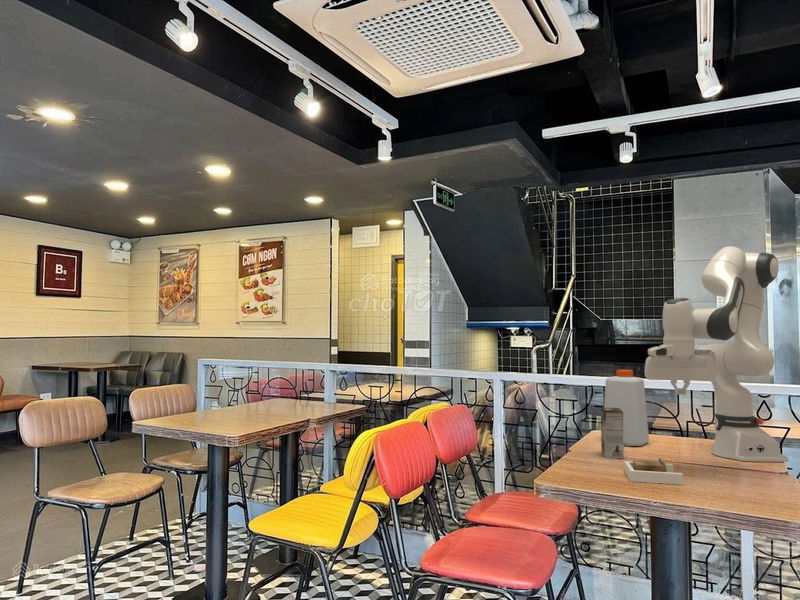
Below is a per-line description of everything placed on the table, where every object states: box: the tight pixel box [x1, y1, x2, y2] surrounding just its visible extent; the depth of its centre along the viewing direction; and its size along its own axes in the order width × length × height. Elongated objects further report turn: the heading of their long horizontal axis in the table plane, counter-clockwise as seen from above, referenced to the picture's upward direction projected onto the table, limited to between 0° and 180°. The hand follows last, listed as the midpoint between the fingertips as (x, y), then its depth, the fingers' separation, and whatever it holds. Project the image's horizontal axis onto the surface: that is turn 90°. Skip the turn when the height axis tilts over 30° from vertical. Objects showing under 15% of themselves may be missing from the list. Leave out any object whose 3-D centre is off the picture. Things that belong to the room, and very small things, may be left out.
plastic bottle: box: [603, 369, 650, 447], centre depth 221 cm, size 15×15×28 cm
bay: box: [623, 460, 684, 486], centre depth 168 cm, size 14×13×3 cm
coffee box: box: [600, 407, 625, 460], centre depth 197 cm, size 9×6×16 cm
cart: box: [632, 457, 666, 472], centre depth 168 cm, size 8×7×5 cm
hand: (680, 394), depth 177 cm, fingers closed
